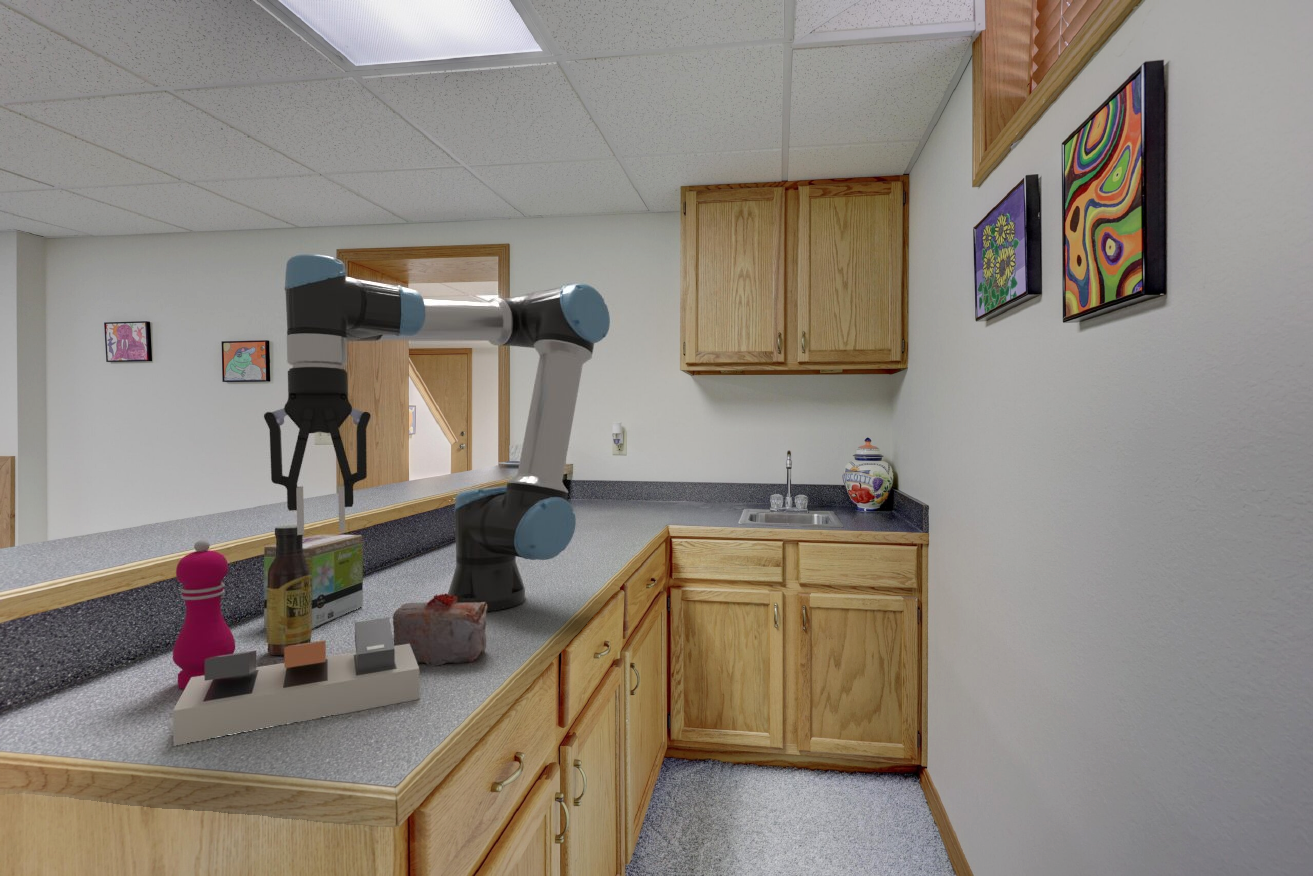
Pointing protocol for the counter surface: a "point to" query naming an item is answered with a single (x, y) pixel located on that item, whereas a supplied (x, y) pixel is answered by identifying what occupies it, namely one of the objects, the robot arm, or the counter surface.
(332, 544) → the tea box
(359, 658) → the rocker end
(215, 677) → the block
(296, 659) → the rocker middle
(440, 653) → the food item
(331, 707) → the rocker switch panel
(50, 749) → the counter surface
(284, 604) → the sauce bottle
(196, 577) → the pepper mill
